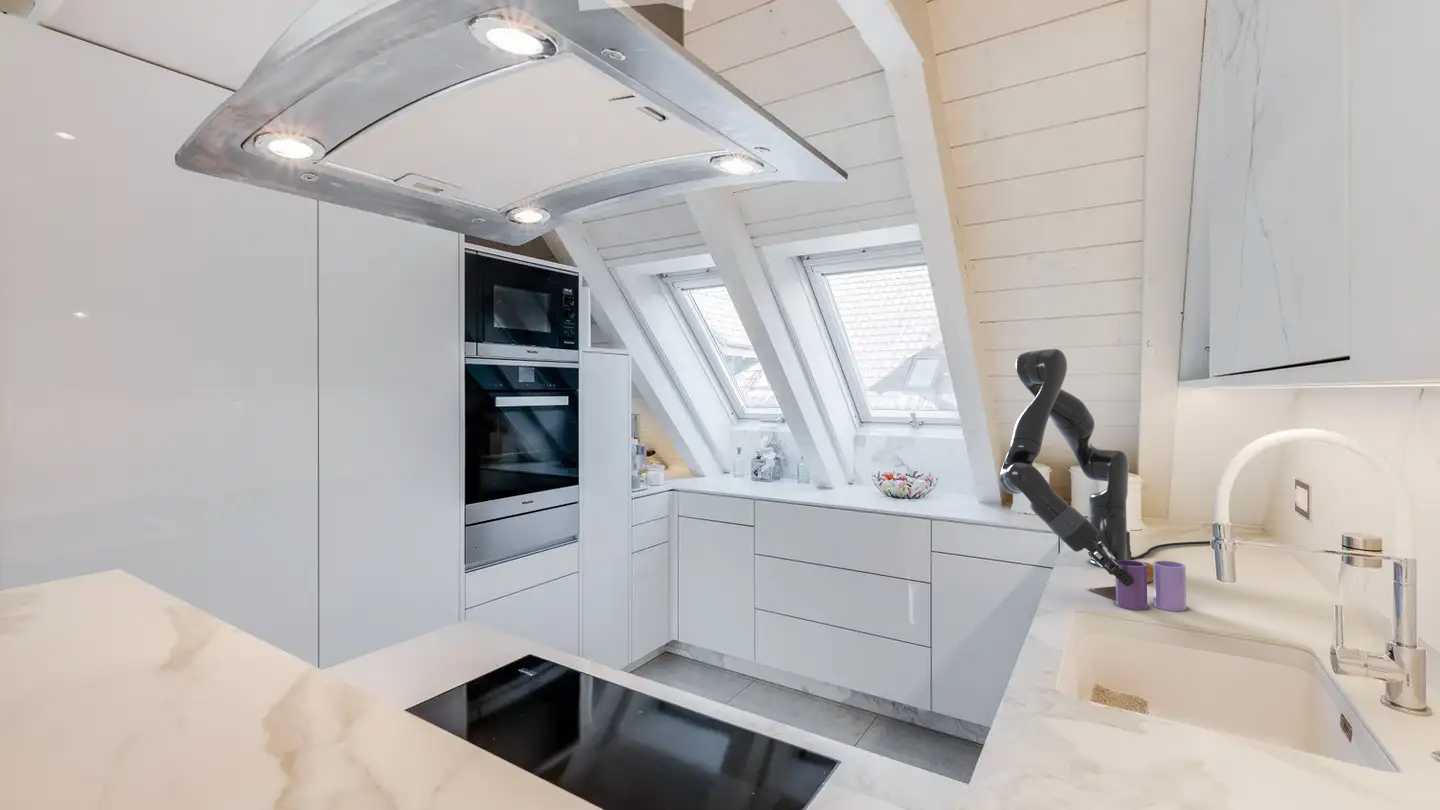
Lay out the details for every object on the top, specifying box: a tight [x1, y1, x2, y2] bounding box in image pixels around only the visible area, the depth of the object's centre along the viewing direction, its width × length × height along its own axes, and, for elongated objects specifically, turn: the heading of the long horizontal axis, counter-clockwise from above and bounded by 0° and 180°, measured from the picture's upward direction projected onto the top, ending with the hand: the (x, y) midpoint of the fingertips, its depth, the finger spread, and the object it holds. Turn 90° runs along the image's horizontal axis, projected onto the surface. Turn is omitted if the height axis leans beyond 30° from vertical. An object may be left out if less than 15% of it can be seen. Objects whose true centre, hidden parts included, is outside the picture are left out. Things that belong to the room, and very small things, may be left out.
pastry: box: [1142, 561, 1153, 584], centre depth 173 cm, size 9×7×4 cm
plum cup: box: [1115, 559, 1148, 611], centre depth 152 cm, size 6×6×10 cm
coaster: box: [1089, 585, 1116, 601], centre depth 162 cm, size 8×8×1 cm
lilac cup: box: [1152, 560, 1187, 612], centre depth 151 cm, size 6×6×10 cm
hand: (1127, 579), depth 153 cm, fingers open, 8 cm apart
